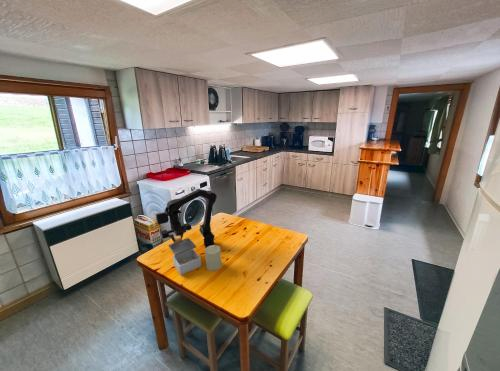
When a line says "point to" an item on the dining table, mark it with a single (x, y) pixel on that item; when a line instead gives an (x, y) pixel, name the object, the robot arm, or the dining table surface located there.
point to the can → (213, 257)
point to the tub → (187, 261)
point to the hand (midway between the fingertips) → (177, 241)
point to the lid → (181, 245)
